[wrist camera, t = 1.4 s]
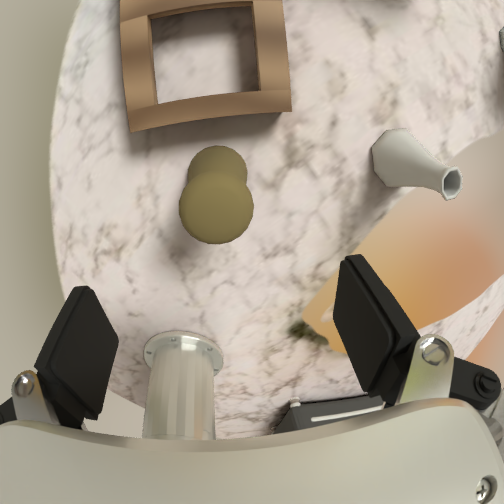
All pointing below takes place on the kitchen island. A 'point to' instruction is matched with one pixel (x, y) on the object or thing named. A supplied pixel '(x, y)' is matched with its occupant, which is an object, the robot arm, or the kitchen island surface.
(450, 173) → the flask
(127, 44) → the walnut stand
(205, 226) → the cork
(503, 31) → the coffee maker
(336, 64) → the kitchen island surface
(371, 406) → the toaster
